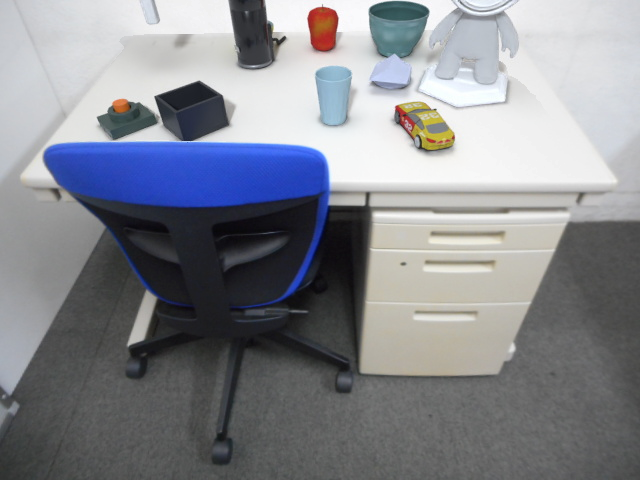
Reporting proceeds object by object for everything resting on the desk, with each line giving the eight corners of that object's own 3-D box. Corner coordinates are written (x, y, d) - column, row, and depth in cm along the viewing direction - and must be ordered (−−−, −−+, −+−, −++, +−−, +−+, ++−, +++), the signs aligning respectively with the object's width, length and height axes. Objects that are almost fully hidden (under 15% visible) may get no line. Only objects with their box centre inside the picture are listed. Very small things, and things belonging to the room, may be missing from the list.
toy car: (420, 110, 94) (424, 89, 90) (459, 151, 82) (464, 128, 78) (389, 116, 92) (391, 94, 89) (423, 158, 81) (427, 135, 77)
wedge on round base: (404, 98, 98) (412, 74, 107) (408, 69, 93) (415, 48, 102) (367, 93, 100) (377, 71, 109) (369, 66, 95) (379, 45, 104)
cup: (342, 131, 88) (342, 84, 81) (310, 123, 91) (308, 77, 83) (356, 115, 93) (357, 69, 86) (325, 108, 96) (324, 63, 88)
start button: (126, 104, 92) (124, 97, 90) (132, 109, 90) (129, 102, 89) (112, 109, 90) (109, 101, 89) (118, 114, 88) (115, 107, 87)
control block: (142, 110, 97) (136, 94, 94) (157, 123, 93) (151, 106, 90) (100, 125, 93) (92, 109, 90) (113, 139, 88) (106, 123, 85)
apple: (305, 53, 118) (303, 8, 110) (312, 42, 124) (311, -2, 115) (335, 55, 117) (335, 9, 108) (340, 44, 122) (341, -1, 114)
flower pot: (434, 56, 114) (442, 14, 106) (383, 67, 110) (387, 24, 102) (404, 37, 125) (409, -3, 117) (356, 46, 121) (358, 5, 113)
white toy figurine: (413, 101, 97) (440, -88, 72) (430, 62, 112) (457, -105, 87) (503, 114, 92) (566, -85, 66) (507, 71, 106) (561, -104, 81)
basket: (206, 109, 97) (199, 80, 92) (229, 125, 91) (222, 95, 86) (163, 125, 92) (153, 96, 87) (184, 143, 86) (175, 113, 81)
